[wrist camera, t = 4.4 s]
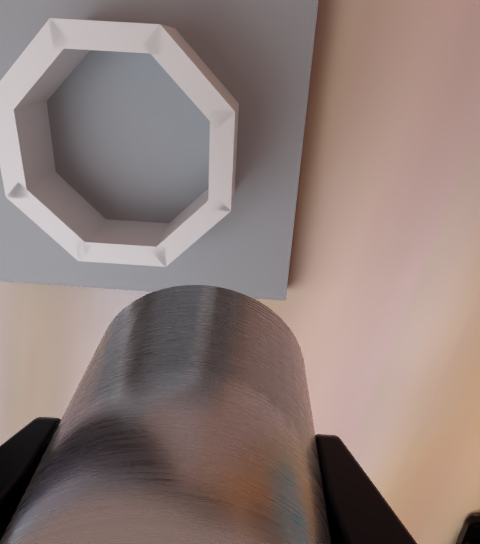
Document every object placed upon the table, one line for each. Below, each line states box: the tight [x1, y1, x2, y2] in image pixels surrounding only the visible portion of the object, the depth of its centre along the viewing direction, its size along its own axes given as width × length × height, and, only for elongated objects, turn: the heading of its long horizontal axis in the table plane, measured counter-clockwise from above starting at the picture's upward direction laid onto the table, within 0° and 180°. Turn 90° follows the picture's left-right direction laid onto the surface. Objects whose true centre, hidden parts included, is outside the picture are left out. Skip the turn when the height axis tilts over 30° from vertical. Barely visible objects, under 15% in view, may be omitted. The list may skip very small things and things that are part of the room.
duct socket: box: [0, 0, 319, 300], centre depth 17 cm, size 13×13×4 cm
